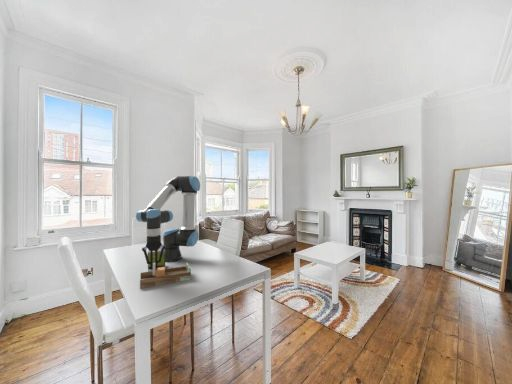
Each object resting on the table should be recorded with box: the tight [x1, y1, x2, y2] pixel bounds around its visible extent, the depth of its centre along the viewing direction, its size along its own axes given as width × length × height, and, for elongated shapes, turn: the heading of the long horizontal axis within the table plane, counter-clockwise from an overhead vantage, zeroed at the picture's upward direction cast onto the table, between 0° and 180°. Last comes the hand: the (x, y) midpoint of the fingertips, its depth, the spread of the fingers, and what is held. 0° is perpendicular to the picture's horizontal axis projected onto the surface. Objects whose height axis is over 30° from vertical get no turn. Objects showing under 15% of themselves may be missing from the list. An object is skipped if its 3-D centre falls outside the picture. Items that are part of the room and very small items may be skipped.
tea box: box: [147, 247, 166, 272], centre depth 147 cm, size 15×10×15 cm, turn 21°
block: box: [155, 267, 166, 277], centre depth 131 cm, size 5×5×4 cm
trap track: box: [139, 262, 192, 289], centre depth 131 cm, size 12×27×6 cm, turn 116°
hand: (154, 274), depth 130 cm, fingers closed
